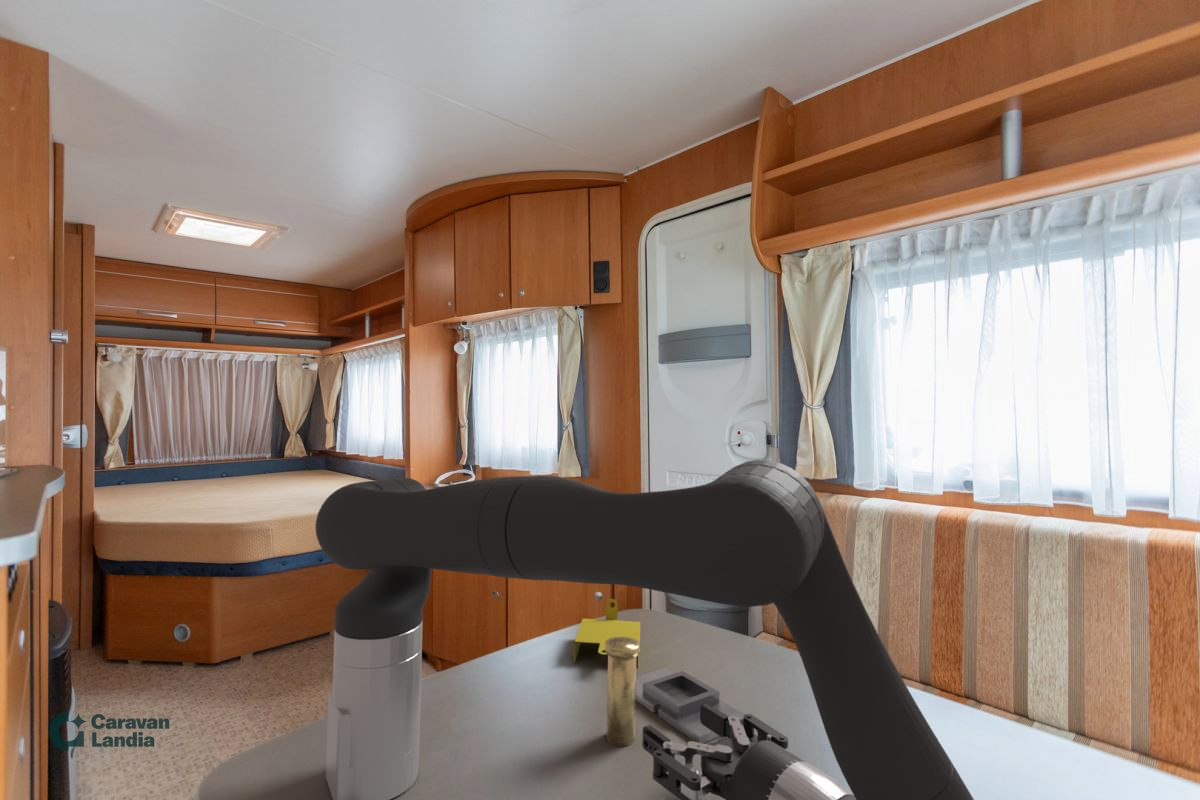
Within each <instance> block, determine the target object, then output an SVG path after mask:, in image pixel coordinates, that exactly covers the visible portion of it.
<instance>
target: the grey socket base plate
mask: <svg viewBox="0 0 1200 800" xmlns="http://www.w3.org/2000/svg"><path fill="white" fill-rule="evenodd" d="M635 702H637V703H638V704H640V705H641V706H643V707H644V706H645V707H644V708H646V709H647V710H648V711H650V712H651V713H658V714H657V716H658V717H659V718H660V719H662V720H663V721H664V722H666V723H667V724H668V725H670V726H672V727H673V728H674V729H676V730H677V731H678V732H680V733H682V734H683V735H685V736H686V737H688V739H690V740H691V741H693V742H698V743H703V744H707V742H708V743H709V742H710V741H712V740H714V739H717V738H719V737H720V736H719V735H717V734H716V733H714V732H713V731H711V730H710V729H708V728H707V727H705V726H704V725H702V723H701V721H700V707H701V706H702V705H705V704H708V705H710V706H711V707H713V708H716V709H717V710H719V711H721V712H722V713H724V714H725V715H727V716H736V717H738V718H739V719H743V718H744V715H745V714H746V713H745V714H744V713H743V712H742V711H739V710H738V709H736V708H734V707H732V706H731V705H729V704H728V703H726V702H724V701H723V700H721V699H720V691H718V690H716V689H715V688H713V687H711V686H710V685H708V684H706V683H704V682H703V681H700V680H699V679H697V678H695V677H694V676H692V675H690V674H688V673H686V672H684V671H683V670H680V671H679V672H673V671H672V670H670V669H668V668H666V667H664V668H661V669H657V670H654V671H651V672H648V673H644V674H642V675H638V676H637V675H636V699H635ZM720 738H721V737H720Z"/></svg>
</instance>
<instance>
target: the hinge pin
mask: <svg viewBox="0 0 1200 800" xmlns="http://www.w3.org/2000/svg"><path fill="white" fill-rule="evenodd" d="M640 647H641V642H640V643H639V641H637V640H636V639H633V638H630V637H613V638H610V639H608V640H606V642H605V650H604V653H606V654H607V686H606V687H607V689H606V690H607V691H606V694H607V695H606V733H605V734H606V741H607V742H608V743H609V744H610V745H613V746H616V747H627V746H630V745H633V743H634V742H635V736H636V735H635V733H636V732H635V731H636V700H635V699H636V677H637V657H638V655H639V656H640V652H641V648H640Z"/></svg>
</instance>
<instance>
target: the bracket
mask: <svg viewBox="0 0 1200 800" xmlns="http://www.w3.org/2000/svg"><path fill="white" fill-rule="evenodd" d="M610 603H613V604H614V606H613V607H611V606H610ZM605 605H606V606H605V619H596V618H581V622H580V625H579V628H578V631H577V634H576V635H575V636H576V637H575V640H574V650H573V654H574V655H573V664H575V663H576V660H577V657H578V654H577V653H579V651H580V647H581V645H582V643H585V644H586V643H587V644H588V643H589V644H599V647H598V650H597V653H598V654H600V655H602V656H603V655H607V654H606V652H603V651H605V642H606V640H608V639H610V638H613V637H630V638H633V639H636V640H637V641H639V643H640V644H641V621H630V620H629V621H627V620H618V606H619V604H618V601H617V600H616V599H614V598H611V599H610V598H609V599H608V600H607V601H606V604H605ZM607 656H608V655H607ZM639 660H640V654H639V655H638V656H637V664H639V662H640V661H639Z"/></svg>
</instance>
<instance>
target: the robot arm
mask: <svg viewBox="0 0 1200 800" xmlns="http://www.w3.org/2000/svg"><path fill="white" fill-rule="evenodd" d="M315 534H316V539H317V541H318V544H319V546H320V548H321V550H322V551H323V553H324V554H325V556H326V557H328V558H329V559H330V560H331V561H332V562H333V563H334V564H337V565H338V566H340V567H341V568H344V569H348V570H352V571H359V570H360V571H361V570H367V569H368V572H367V574H365V576H364V577H363V579H361V581H360V582H359V583H358V584H357V585H356V586H354V587H352V589H350V590H349V591H348V592H347V593H346V594H345V595H343V596H342V597H341V598H340V599H339V601H338V602H337V603H336V606H335V610H334V625H333V626H334V631H333V632H334V635H333V636H334V637H333V638H334V639H333V670H332V671H333V673H332V691H330V692H329V693H327V694H328V695H327V696H328V697H327V721H326V722H327V724H326V726H327V727H326V729H327V731H326V758H325V759H326V762H325V763H326V764H325V765H326V766H325V780H326V783H327V785H328V786H327V787H328V789H329V791H330V792H329V793H330V794H331V798H332V800H392V799H394V798H396V797H398V796H400V795H401V794H403V793H404V792H406V791H407V790H408V789H410V788H411V786H412V785H413V784H414V783H415V782H416V780H417V778H418V777H419V776H418V775H419V766H420V765H419V764H420V733H421V732H420V730H421V729H420V728H421V726H420V725H421V698H422V697H421V696H422V695H421V694H422V690H421V689H422V658H423V657H422V655H423V654H422V653H423V651H422V650H423V627H424V626H423V621H424V620H423V618H424V617H423V615H424V606H425V605H426V602H427V600H428V598H429V595H430V591H431V584H432V572H433V570H439V571H447V572H454V573H463V574H474V575H475V574H476V575H484V576H493V577H498V578H499V577H500V578H504V579H505V578H506V579H518V580H519V579H520V580H532V581H554V582H555V581H556V582H570V583H581V584H582V583H583V584H596V585H597V584H598V585H616V586H617V585H618V586H628V587H636V588H641V589H646V590H652V591H657V592H661V593H666V594H671V595H676V596H681V597H686V598H690V599H696V600H701V601H705V602H712V603H715V604H721V605H726V606H733V607H734V606H735V607H743V608H744V607H745V608H752V607H753V608H754V607H763V606H768V605H771V604H773V605H774V606H775V607H776V609H777V611H778V612H779V614H780V616H781V618H782V620H783V622H784V624H785V625H786V627H787V630H788V632H789V633H790V635H791V637H792V639H793V642H794V644H795V646H796V649H797V652H798V653H799V656H800V658H801V662H802V664H803V667H804V669H805V674H806V675H807V678H808V681H809V684H810V688H811V691H812V693H813V694H812V695H813V697H814V700H815V703H816V706H817V709H818V712H819V715H820V718H821V721H822V725H823V728H824V730H825V731H824V732H825V733H826V736H827V740H828V743H829V745H830V748H831V749H832V753H833V755H834V757H835V760H836V762H837V765H838V767H839V768H840V771H841V773H842V775H843V777H844V779H845V782H846V783H847V785H848V787H849V789H850V791H851V792H850V791H849V790H848V789H846V788H845V786H843V785H841V783H839V782H838V781H837V780H835V779H834V778H832V777H831V776H830V775H828V774H826V773H825V772H823V771H822V770H819V769H818V768H816V767H815V766H813V765H811V764H810V763H808V762H807V761H804V760H803V759H801V757H799V756H797V755H795V754H794V753H792V752H790V751H789V738H788V736H786V735H784V734H783V733H781V732H780V731H778V730H776V729H775V728H773V727H772V726H770V725H769V724H767V723H765V722H764V721H762V720H760V718H758V717H756V716H755V715H753V714H751V713H750V714H749V713H745V715H744V718H743V719H739V718H738V717H736V716H727V715H725V714H724V713H722V712H721V711H719V710H717V709H716V708H713V707H711V706H710V705H708V704H705V705H702V706H701V707H700V721H701V723H702V725H704V726H705V727H707V728H708V729H710V730H711V731H713V732H714V733H716V734H717V735H719V736H720V738H718V739H717V740H716V741H712V742H708V743H698V742H694V741H693V740H691V741H688V742H687V743H686V744H682V743H678V742H675V741H671V739H670V738H668V737H667V736H666V735H665V734H663V733H662V732H660V731H659V730H658V729H657V728H655V727H654V726H652V725H651V724H647V725H645V726H643V727H642V740H641V741H642V743H641V744H642V745H641V746H642V748H643V750H644V751H646V752H647V753H648V754H650V755H651V756H652V758H653V760H652V762H653V763H652V764H653V765H652V779H653V780H654V782H657V784H659V785H660V786H661V787H663V788H664V789H666V790H667V791H668V792H669V793H670V794H672V795H673V796H674V797H676V798H677V799H678V800H702V798H703V797H705V796H706V795H708V794H709V793H710V794H712V795H715V796H718V797H720V798H722V799H724V800H975V799H974V797H973V796H972V794H971V792H970V790H969V789H968V787H967V786H966V784H965V782H964V780H963V779H962V777H961V776H960V774H959V772H958V770H957V769H956V767H955V766H954V764H953V762H952V760H951V759H950V757H949V755H948V754H947V752H946V750H945V749H944V748H943V746H942V744H941V743H940V741H939V739H938V738H937V736H936V734H935V732H934V730H933V729H932V728H931V725H930V724H929V723H928V721H927V720H926V718H925V716H924V714H923V713H922V711H921V709H920V708H919V705H918V704H917V702H916V701H915V699H914V697H913V695H912V694H911V692H910V690H909V689H908V686H907V684H906V683H905V681H904V680H903V678H902V676H901V674H900V672H899V671H898V669H897V667H896V665H895V664H894V661H893V660H892V658H891V656H890V654H889V653H888V650H887V649H886V647H885V645H884V643H883V642H882V639H881V637H880V635H879V633H878V631H877V629H876V628H875V626H874V623H873V621H872V620H871V617H870V615H869V613H868V611H867V609H866V607H865V605H864V604H863V600H862V599H861V596H860V595H859V593H858V591H857V588H856V586H855V584H854V582H853V579H852V577H851V575H850V573H849V571H848V568H847V566H846V563H845V561H844V558H843V555H842V554H841V551H840V548H839V545H838V544H837V540H836V538H835V536H834V533H833V530H832V528H831V526H830V523H829V521H828V518H827V516H826V514H825V511H824V508H823V506H822V503H821V501H820V499H819V497H818V495H817V493H816V492H815V490H814V488H813V487H812V485H811V483H810V482H808V481H807V480H806V478H804V477H803V475H802V474H800V473H799V472H797V471H796V470H794V469H793V468H792V467H790V466H788V465H785V464H783V463H780V462H777V461H774V460H768V459H767V460H766V459H755V460H750V461H745V462H742V463H740V464H738V465H736V466H734V467H732V468H730V469H729V470H728V471H726V472H724V473H723V474H721V475H720V476H718V477H717V478H716V479H714V480H713V481H710V482H707V483H705V484H700V485H697V486H693V487H691V486H690V487H685V488H684V487H683V488H678V489H669V490H662V491H661V490H659V491H646V492H627V493H626V492H616V491H615V492H614V491H610V490H605V489H601V488H599V487H595V486H592V485H589V484H587V483H584V482H581V481H579V480H575V479H571V478H566V477H561V476H553V475H528V476H527V475H521V476H501V477H492V478H485V479H483V478H482V479H478V480H477V479H475V480H471V481H465V482H463V481H462V482H458V483H453V484H448V485H447V484H446V485H442V486H437V487H433V488H428V489H427V488H425V486H424V485H423V484H422V483H421V482H419V481H418V480H417V479H413V478H409V477H395V478H394V477H393V478H386V479H385V478H383V479H376V480H368V481H362V482H361V481H360V482H354V483H349V484H347V485H345V486H342V487H340V488H337V489H336V490H335V491H333V492H332V493H330V495H329V496H328V497H326V499H325V500H324V501H323V503H322V504H321V506H320V508H319V511H318V513H317V515H316V519H315ZM755 731H756V732H757V735H756V734H755ZM676 755H678V756H682V757H683V758H684V763H682V762H680V761H679V760H677V759H676ZM695 755H699V756H700V770H701V771H698V770H696V767H695Z"/></svg>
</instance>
